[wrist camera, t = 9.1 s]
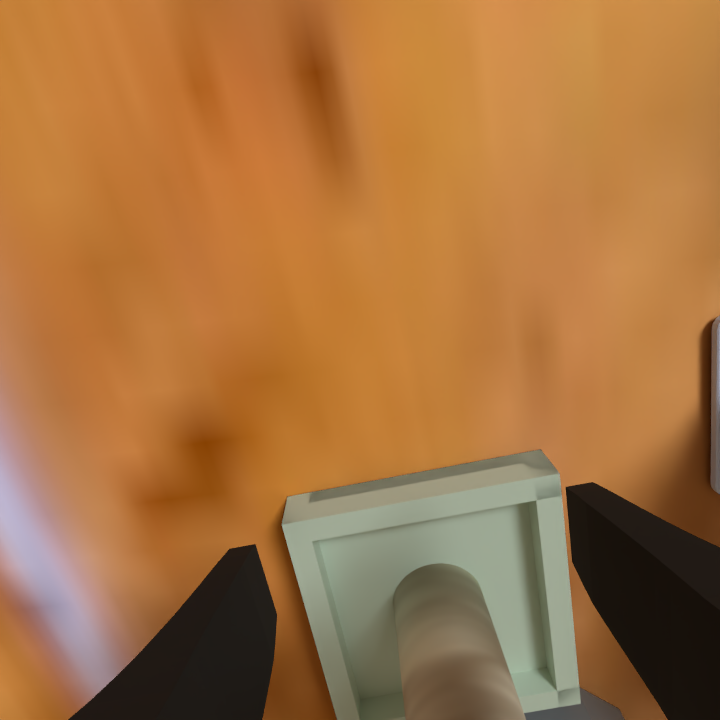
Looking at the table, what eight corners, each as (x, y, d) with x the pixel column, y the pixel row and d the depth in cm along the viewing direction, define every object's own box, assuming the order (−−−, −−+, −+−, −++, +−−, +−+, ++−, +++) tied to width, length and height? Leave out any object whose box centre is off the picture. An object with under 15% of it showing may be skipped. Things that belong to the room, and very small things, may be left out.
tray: (540, 449, 21) (559, 473, 19) (562, 665, 25) (580, 703, 23) (287, 496, 22) (281, 524, 20) (344, 702, 25) (343, 743, 23)
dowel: (493, 571, 22) (585, 804, 13) (468, 643, 23) (538, 900, 14) (404, 556, 22) (440, 784, 13) (384, 629, 23) (404, 884, 14)
